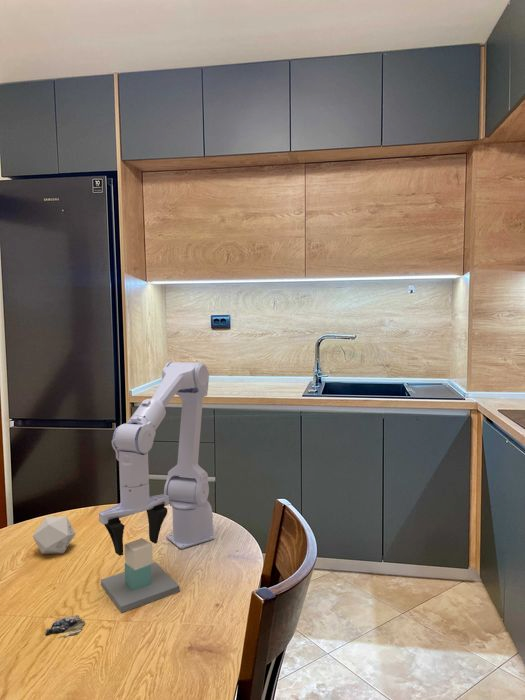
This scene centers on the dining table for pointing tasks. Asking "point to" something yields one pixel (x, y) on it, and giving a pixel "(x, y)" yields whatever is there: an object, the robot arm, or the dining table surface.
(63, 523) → the die
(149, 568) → the teal cube
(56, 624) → the blueberries
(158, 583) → the plate
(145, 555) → the cream cube
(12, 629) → the dining table surface
